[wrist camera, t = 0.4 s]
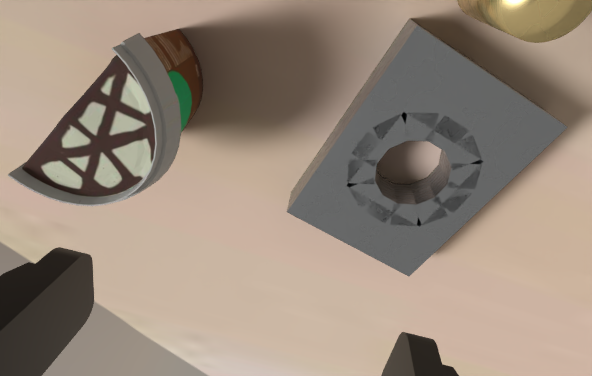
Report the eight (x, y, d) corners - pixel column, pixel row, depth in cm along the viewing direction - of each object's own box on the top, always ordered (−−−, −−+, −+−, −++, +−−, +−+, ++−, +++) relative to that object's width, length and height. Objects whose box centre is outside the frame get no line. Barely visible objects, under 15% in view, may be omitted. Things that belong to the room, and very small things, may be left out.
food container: (154, 171, 33) (88, 245, 25) (96, 119, 31) (3, 179, 23) (253, 83, 28) (214, 136, 20) (192, 13, 26) (119, 40, 18)
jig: (409, 18, 25) (417, 25, 22) (546, 111, 27) (567, 127, 24) (291, 192, 33) (286, 211, 30) (404, 253, 35) (409, 276, 32)
